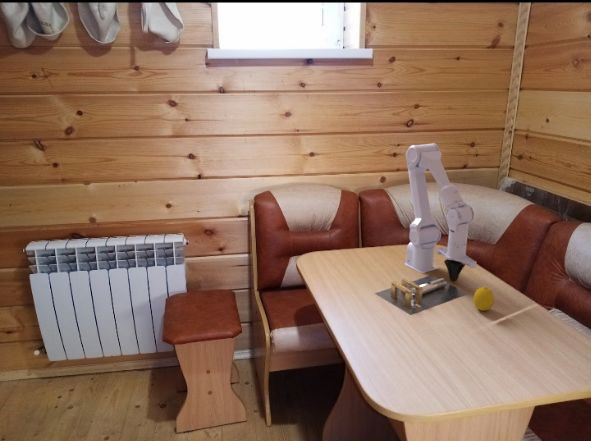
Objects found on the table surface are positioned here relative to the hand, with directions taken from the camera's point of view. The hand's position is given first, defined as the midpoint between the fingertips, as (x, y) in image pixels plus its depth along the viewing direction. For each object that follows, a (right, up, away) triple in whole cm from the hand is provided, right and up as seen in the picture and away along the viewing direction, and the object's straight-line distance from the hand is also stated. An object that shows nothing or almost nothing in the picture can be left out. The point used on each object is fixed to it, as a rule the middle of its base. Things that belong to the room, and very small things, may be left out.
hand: (453, 280), depth 157 cm
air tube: (-10, -3, -5) cm, 11 cm away
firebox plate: (-12, -4, -7) cm, 14 cm away
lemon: (+3, -7, -17) cm, 18 cm away
